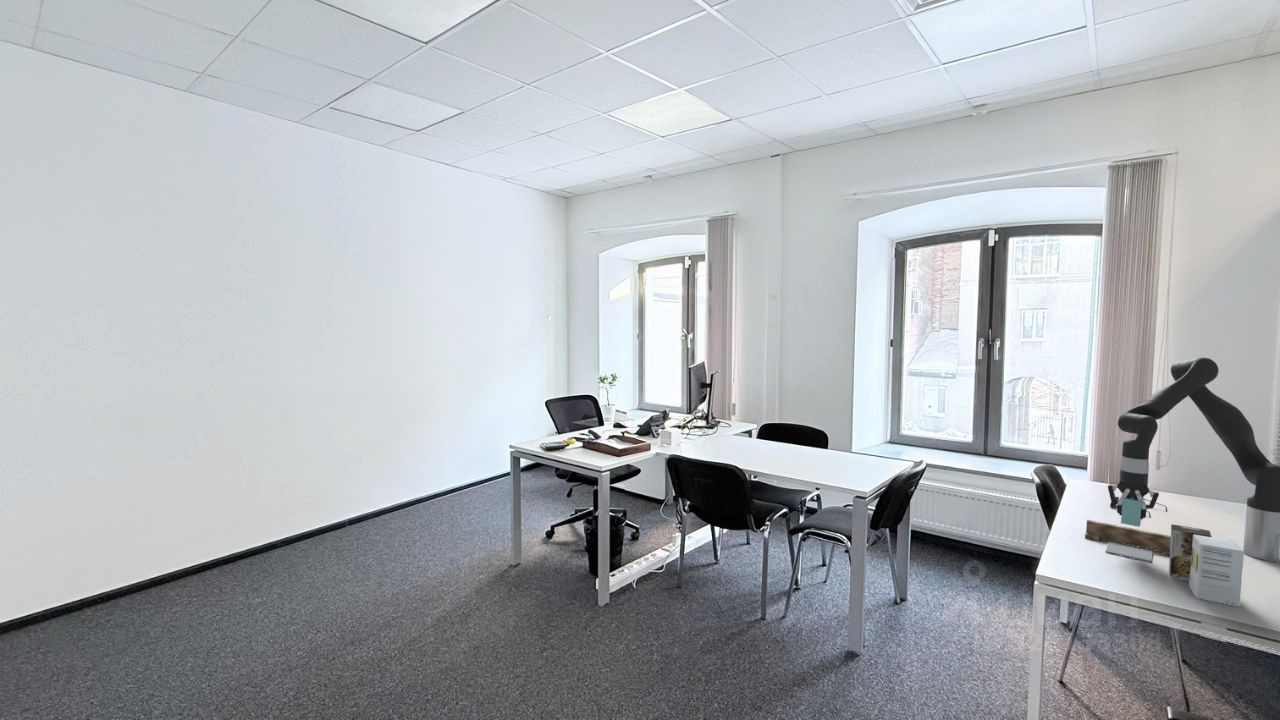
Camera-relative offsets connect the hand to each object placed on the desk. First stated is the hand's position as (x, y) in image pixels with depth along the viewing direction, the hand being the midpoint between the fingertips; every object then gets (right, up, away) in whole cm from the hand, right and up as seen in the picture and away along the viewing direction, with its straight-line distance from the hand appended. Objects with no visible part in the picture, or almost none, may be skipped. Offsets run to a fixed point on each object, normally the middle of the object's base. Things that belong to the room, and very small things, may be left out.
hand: (1131, 516), depth 196 cm
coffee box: (+1, -15, -19) cm, 24 cm away
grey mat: (0, -13, +1) cm, 13 cm away
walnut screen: (+7, -13, +8) cm, 16 cm away
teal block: (0, -2, 0) cm, 2 cm away
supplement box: (-3, -15, -31) cm, 35 cm away
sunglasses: (+46, -11, +48) cm, 67 cm away
